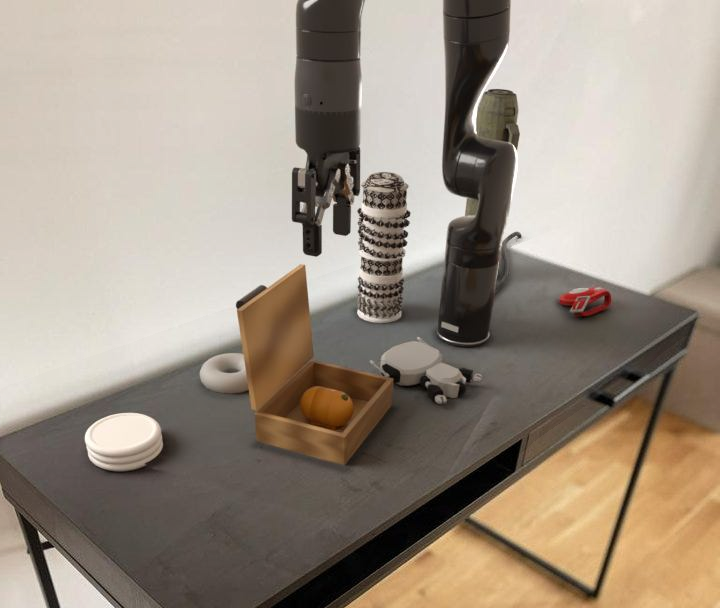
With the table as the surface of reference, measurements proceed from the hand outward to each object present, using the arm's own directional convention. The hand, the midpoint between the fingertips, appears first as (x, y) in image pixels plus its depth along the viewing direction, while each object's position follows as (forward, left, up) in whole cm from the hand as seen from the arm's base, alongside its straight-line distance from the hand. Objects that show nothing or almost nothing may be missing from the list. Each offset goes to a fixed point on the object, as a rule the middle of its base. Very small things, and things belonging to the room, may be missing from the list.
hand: (327, 244), depth 95 cm
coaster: (+18, -22, -27) cm, 39 cm away
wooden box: (0, 0, -27) cm, 27 cm away
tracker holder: (-60, +26, -27) cm, 71 cm away
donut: (-5, -19, -27) cm, 34 cm away
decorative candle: (-40, -8, -27) cm, 49 cm away
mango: (0, 0, -26) cm, 26 cm away
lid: (0, -7, -14) cm, 16 cm away
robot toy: (-18, +9, -27) cm, 34 cm away
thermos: (-68, +3, -27) cm, 73 cm away
